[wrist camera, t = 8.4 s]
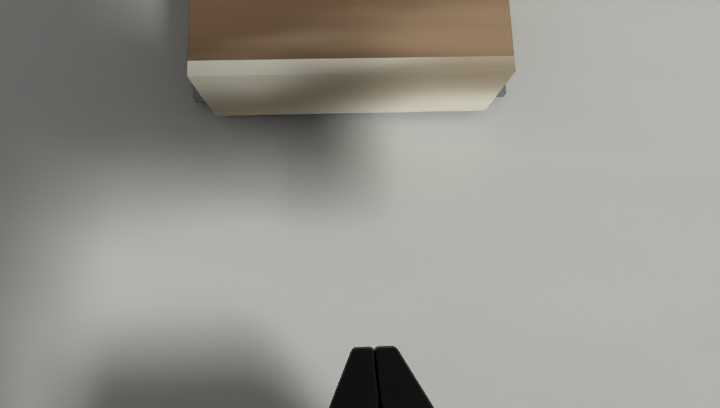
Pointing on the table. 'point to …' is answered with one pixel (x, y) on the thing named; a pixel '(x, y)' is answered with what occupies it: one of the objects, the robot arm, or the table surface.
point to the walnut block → (348, 55)
